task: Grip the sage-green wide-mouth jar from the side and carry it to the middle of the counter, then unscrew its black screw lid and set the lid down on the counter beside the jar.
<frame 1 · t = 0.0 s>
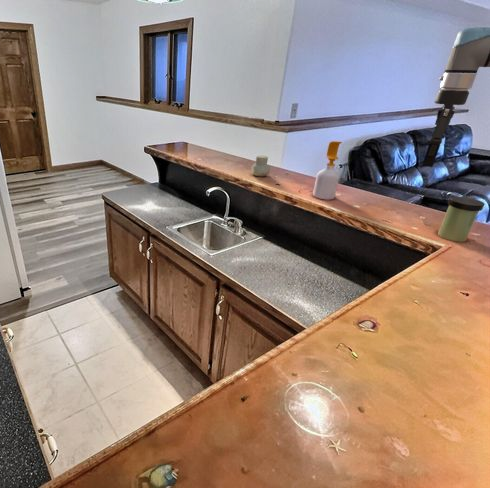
hand: (428, 162, 112), 25 cm above the counter, tool pointing down, fingers open, 13 cm apart
lid: (466, 201, 115), point 13 cm above the counter, screwed on, not yet turned
soap bottle: (323, 197, 158), on the counter
jar: (451, 236, 121), on the counter
air freshener: (259, 175, 188), on the counter
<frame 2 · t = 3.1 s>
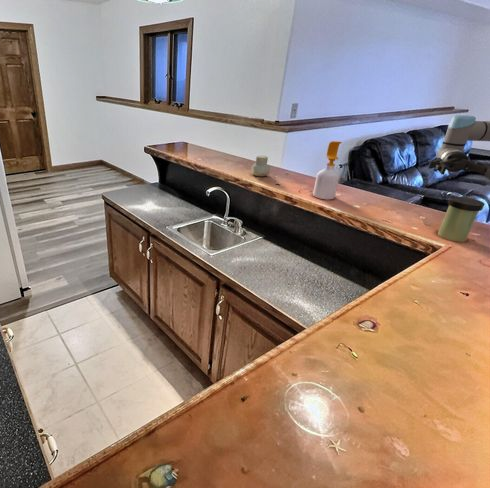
hand: (468, 173, 120), 20 cm above the counter, tool horizontal, fingers open, 13 cm apart
nothing on the counter moved.
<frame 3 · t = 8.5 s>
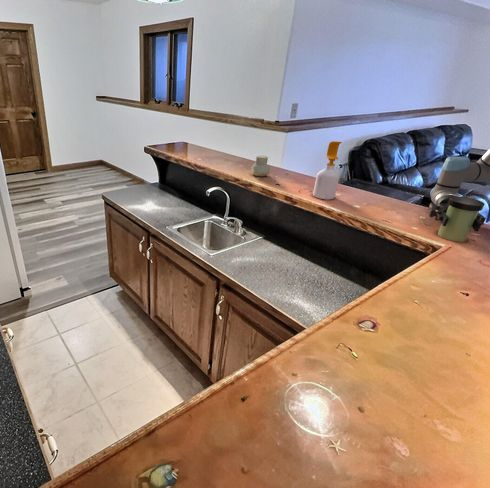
hand: (461, 224, 114), 6 cm above the counter, tool horizontal, fingers closed on jar, 8 cm apart
jar: (451, 236, 121), on the counter, touching gripper
everything else where it was.
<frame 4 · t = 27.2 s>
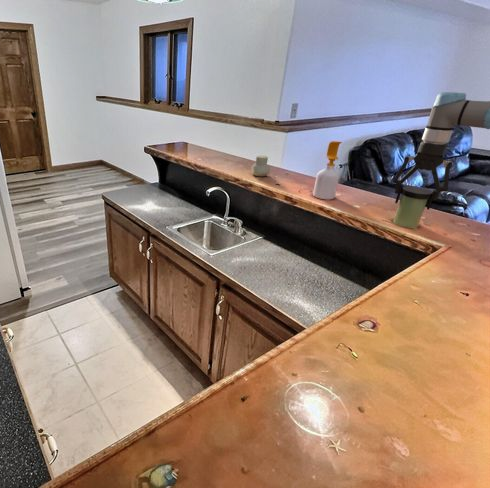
hand: (411, 205, 127), 7 cm above the counter, tool pointing down, fingers closed on lid, 9 cm apart
lid: (416, 191, 125), point 13 cm above the counter, screwed on, not yet turned, touching gripper
jar: (405, 223, 131), on the counter
everything else where it was.
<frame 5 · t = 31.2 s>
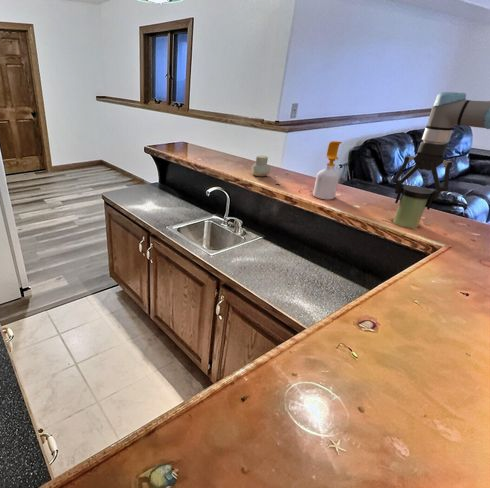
hand: (412, 205, 127), 7 cm above the counter, tool pointing down, fingers closed on lid, 9 cm apart
lid: (417, 190, 125), point 13 cm above the counter, turned 132° so far, risen 0.2 cm, still on its thread, touching gripper
everything else where it was.
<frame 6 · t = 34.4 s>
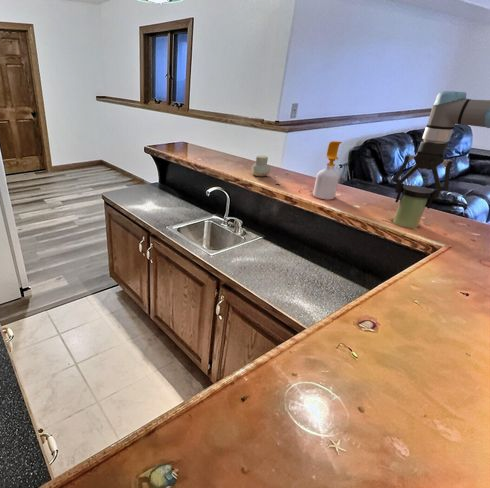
hand: (412, 204, 127), 8 cm above the counter, tool pointing down, fingers closed on lid, 9 cm apart
lid: (417, 190, 125), point 13 cm above the counter, turned 263° so far, risen 0.4 cm, still on its thread, touching gripper
everything else where it was.
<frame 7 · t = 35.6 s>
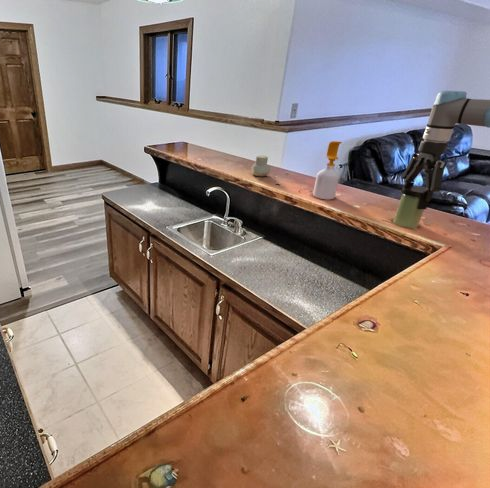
hand: (412, 204, 127), 8 cm above the counter, tool pointing down, fingers closed on lid, 9 cm apart
lid: (417, 189, 125), point 13 cm above the counter, off its thread, touching gripper
everything else where it was.
when the fingers open (0 cm above the counter, at t = 43.8 s): lid drops 4 cm, point 1 cm above the counter.
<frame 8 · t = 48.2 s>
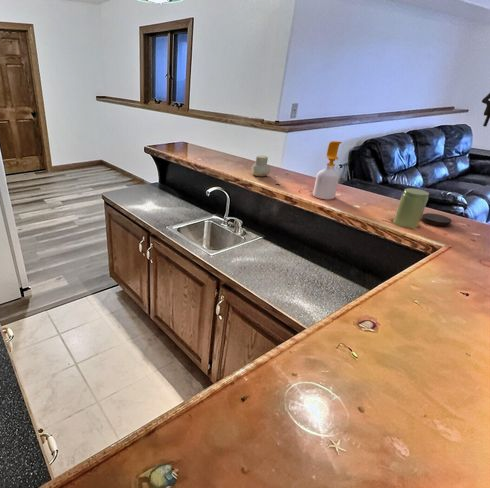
lid: (436, 218, 132), point 1 cm above the counter, off its thread
everything else where it was.
at the end: jar inside the target area (0.1 cm from its centre), on the counter; lid point 1.5 cm above the counter; the gripper is holding nothing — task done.
